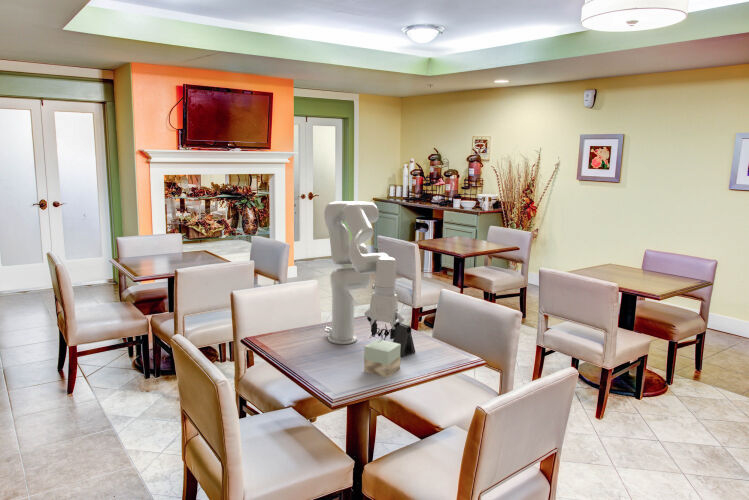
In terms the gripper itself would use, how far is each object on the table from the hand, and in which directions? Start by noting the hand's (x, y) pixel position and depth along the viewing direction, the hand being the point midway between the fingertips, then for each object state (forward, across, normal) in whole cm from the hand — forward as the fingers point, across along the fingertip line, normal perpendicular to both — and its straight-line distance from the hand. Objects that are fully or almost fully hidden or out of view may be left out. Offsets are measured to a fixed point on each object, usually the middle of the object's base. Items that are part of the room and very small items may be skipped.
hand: (383, 336), depth 202 cm
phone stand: (+13, -1, +20) cm, 24 cm away
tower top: (+9, 0, 0) cm, 9 cm away
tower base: (+14, 0, 0) cm, 14 cm away
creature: (+1, -1, -1) cm, 2 cm away
